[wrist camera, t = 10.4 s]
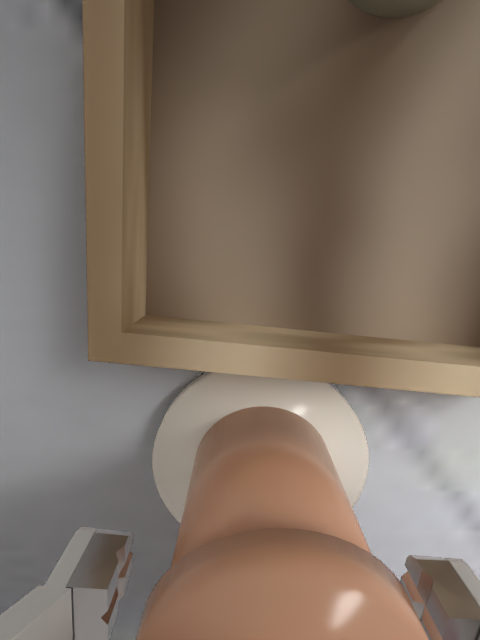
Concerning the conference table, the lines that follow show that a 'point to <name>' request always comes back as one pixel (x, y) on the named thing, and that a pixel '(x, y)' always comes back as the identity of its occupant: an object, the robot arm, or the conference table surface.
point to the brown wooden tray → (285, 190)
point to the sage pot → (394, 7)
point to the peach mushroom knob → (273, 546)
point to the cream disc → (244, 392)
